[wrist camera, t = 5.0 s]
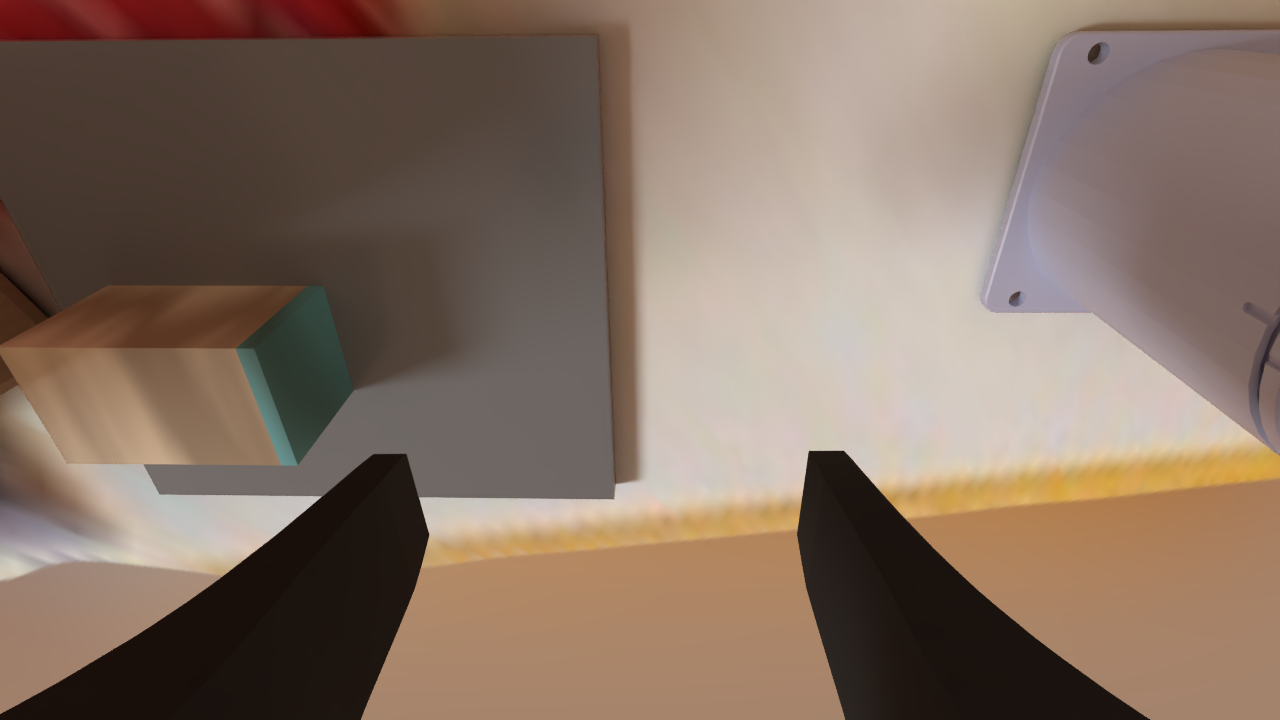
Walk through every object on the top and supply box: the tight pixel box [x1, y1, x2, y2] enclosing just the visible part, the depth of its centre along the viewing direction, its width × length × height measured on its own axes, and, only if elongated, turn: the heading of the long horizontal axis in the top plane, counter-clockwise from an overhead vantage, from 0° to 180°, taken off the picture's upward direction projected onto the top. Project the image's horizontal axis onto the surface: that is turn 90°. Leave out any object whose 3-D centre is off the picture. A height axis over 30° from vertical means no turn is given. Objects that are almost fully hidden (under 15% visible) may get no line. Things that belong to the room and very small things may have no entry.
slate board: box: [0, 34, 615, 499], centre depth 21 cm, size 18×16×1 cm
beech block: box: [0, 285, 354, 466], centre depth 19 cm, size 4×4×7 cm
